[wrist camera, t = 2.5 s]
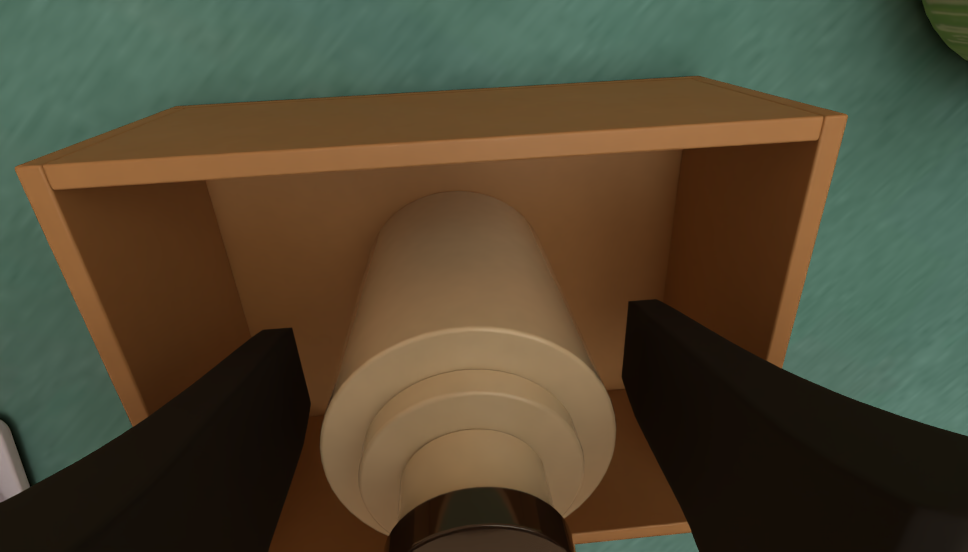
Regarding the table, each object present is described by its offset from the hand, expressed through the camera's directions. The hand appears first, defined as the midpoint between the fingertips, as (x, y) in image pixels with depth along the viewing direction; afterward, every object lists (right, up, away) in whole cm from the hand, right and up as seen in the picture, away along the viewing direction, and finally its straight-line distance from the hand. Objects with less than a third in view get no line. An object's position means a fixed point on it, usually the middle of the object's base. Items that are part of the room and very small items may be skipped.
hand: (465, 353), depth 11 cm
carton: (0, +2, +4) cm, 4 cm away
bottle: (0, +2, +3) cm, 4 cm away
